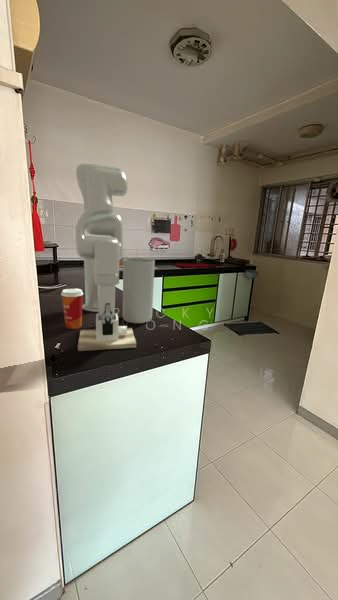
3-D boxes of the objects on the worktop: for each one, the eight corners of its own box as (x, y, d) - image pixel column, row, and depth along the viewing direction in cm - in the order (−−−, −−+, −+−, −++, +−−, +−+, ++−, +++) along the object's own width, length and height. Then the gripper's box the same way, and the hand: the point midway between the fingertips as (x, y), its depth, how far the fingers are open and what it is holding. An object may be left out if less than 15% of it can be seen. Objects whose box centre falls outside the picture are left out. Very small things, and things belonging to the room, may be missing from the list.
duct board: (80, 333, 90) (80, 330, 89) (131, 331, 95) (131, 327, 94) (77, 351, 78) (77, 346, 77) (136, 347, 83) (136, 343, 82)
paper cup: (62, 323, 98) (60, 288, 94) (83, 321, 101) (82, 287, 97) (63, 331, 91) (61, 293, 87) (85, 329, 94) (84, 292, 90)
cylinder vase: (126, 325, 100) (127, 262, 93) (119, 314, 111) (120, 257, 104) (155, 322, 105) (159, 262, 98) (147, 312, 116) (149, 258, 109)
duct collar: (96, 332, 88) (96, 313, 86) (125, 331, 91) (125, 312, 89) (96, 341, 82) (95, 321, 80) (127, 339, 84) (127, 319, 82)
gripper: (95, 273, 87) (96, 319, 92) (94, 284, 71) (95, 340, 76) (117, 273, 89) (117, 319, 94) (121, 285, 73) (120, 339, 78)
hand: (107, 328), depth 85 cm, fingers open, 9 cm apart
